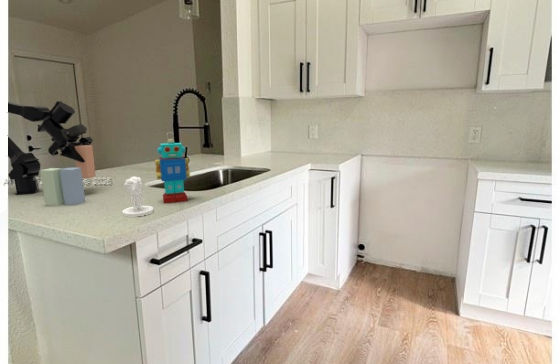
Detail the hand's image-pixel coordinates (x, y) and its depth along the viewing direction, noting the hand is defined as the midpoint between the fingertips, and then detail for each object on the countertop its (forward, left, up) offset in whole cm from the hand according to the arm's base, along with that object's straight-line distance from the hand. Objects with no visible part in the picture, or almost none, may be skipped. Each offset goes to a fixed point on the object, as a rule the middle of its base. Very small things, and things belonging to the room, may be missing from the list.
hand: (88, 161), depth 127 cm
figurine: (+19, -34, -13) cm, 41 cm away
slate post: (-3, -13, -13) cm, 19 cm away
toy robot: (+31, -22, -13) cm, 40 cm away
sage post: (-9, -12, -13) cm, 20 cm away
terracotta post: (-1, +1, -7) cm, 7 cm away
